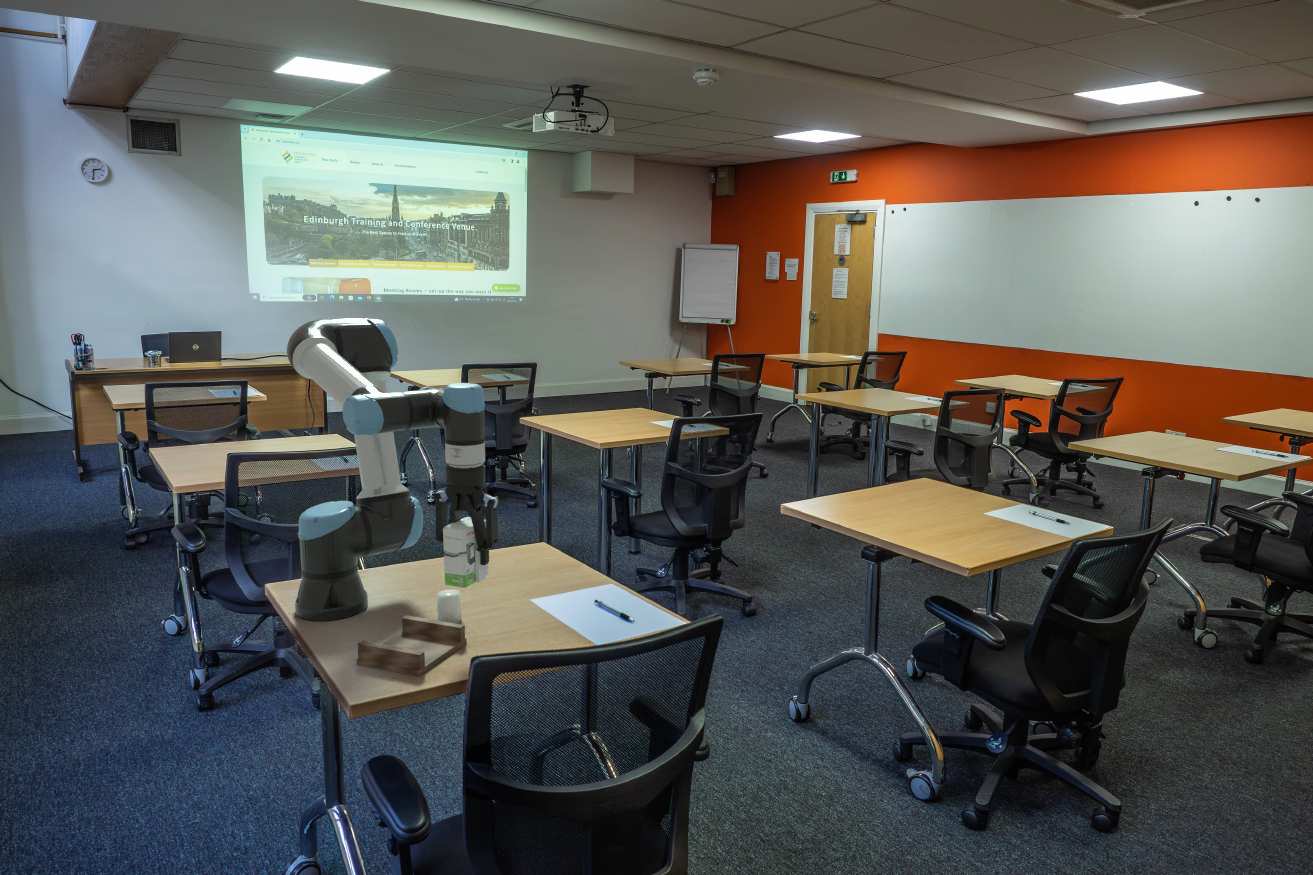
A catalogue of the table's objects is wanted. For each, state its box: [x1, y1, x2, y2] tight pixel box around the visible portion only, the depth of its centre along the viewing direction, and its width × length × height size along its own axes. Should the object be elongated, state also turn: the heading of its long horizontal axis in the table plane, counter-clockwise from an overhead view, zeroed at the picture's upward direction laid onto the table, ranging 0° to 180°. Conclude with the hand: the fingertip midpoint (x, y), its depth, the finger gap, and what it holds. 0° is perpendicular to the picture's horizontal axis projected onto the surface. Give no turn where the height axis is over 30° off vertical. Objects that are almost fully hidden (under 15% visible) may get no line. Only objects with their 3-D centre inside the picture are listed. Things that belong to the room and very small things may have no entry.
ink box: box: [442, 516, 489, 589], centre depth 166 cm, size 9×5×12 cm, turn 158°
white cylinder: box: [436, 589, 463, 624], centre depth 181 cm, size 5×5×6 cm
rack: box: [356, 614, 468, 677], centre depth 165 cm, size 14×16×4 cm
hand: (467, 577), depth 167 cm, fingers closed on ink box, 5 cm apart
